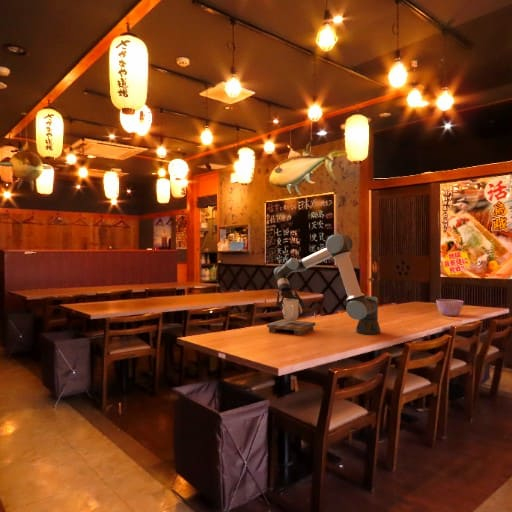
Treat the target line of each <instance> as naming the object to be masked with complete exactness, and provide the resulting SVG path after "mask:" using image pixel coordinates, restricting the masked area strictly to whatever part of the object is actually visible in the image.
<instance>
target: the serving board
mask: <svg viewBox="0 0 512 512" xmlns="http://www.w3.org/2000/svg"><path fill="white" fill-rule="evenodd" d="M315 326H316V322H315V321H305V320H296V321H286V320H285V319H284V318H283V319H280V320H276V321H273V322H269V323H267V324H266V328H268V332H269V333H277V332H279V331H282V330H286V331H293V336H299V335H300V336H302V335H305V334H308V333H309V331H310V332H313V331H314V327H315ZM304 333H305V334H304ZM301 334H302V335H301Z"/></svg>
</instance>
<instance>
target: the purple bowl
mask: <svg viewBox="0 0 512 512" xmlns="http://www.w3.org/2000/svg"><path fill="white" fill-rule="evenodd" d="M435 302H436V306H437V310H438V312H439V313H440V314H442V315H443V316H445V317H455V316H457V315H459V314H460V313H461V312H462V310H463V306H464V304H465V303H464V302H465V301H464V300H461V299H449V298H448V299H447V298H441V299H440V298H439V299H436V300H435Z"/></svg>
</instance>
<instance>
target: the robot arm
mask: <svg viewBox="0 0 512 512" xmlns="http://www.w3.org/2000/svg"><path fill="white" fill-rule="evenodd" d="M353 246H354V242H353V238H352V237H351V236H350V235H347V234H338V233H336V234H331V235H330V236H328V238H327V240H326V241H325V247H324V248H322V249H320V250H318V251H315V252H314V253H312V254H309V255H308V256H306V257H302V258H301V259H299V260H297V259H296V258H293V257H290V259H288V260H287V261H286V262H285V263H284V264H283V265H282V266H280V265H279V266H277V267H275V268H274V269H273V274H274V277H275V280H276V283H277V287H278V290H279V291H277V292H276V293H275V294H276V304H275V305H276V306H278V307H279V309H280V310H282V311H283V312H282V315H283V314H285V312H286V311H285V308H284V305H283V300H284V299H286V298H290V299H295V300H296V299H297V300H299V302H298V306H299V315H300V314H302V313H303V309H302V308H303V306H302V304H303V303H304V300H303V299H302V298H301V297H300V295H299V294H298V293H297V292H298V291H296V290H294V291H293V290H292V287H291V285H290V282H289V280H288V277H289V276H290V275H291V274H292V273H298V272H304V271H306V270H308V269H309V268H311V267H314V266H315V265H318V264H320V263H323V262H324V261H326V260H329V259H331V258H332V259H333V260H335V261H336V265H337V268H338V271H339V273H340V277H341V281H342V283H343V286H344V289H345V293H346V295H347V298H346V304H347V305H346V307H345V308H346V313H347V315H348V317H350V318H351V319H353V320H358V322H357V324H356V328H355V332H356V333H357V334H361V335H371V336H372V335H379V334H381V331H382V330H381V326H380V323H379V321H378V319H379V301H378V297H376V296H370V295H369V296H368V295H367V296H366V295H365V294H364V293H363V292H362V290H361V287H360V285H359V282H358V278H357V276H356V272H355V268H354V266H353V264H352V261H351V257H350V255H351V250H352V249H353ZM280 296H281V300H280Z"/></svg>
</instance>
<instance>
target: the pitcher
mask: <svg viewBox="0 0 512 512" xmlns="http://www.w3.org/2000/svg"><path fill="white" fill-rule="evenodd" d="M298 302H299V300H297V299H296V300H295V299H290V298H284V299H283V302H282V304H283V305H284V308H285V311H286V312H285V314H283V311H282V315H283V319H285V320H286V321H297V319H298V317H299V315H300V312H299V306H298Z"/></svg>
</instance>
